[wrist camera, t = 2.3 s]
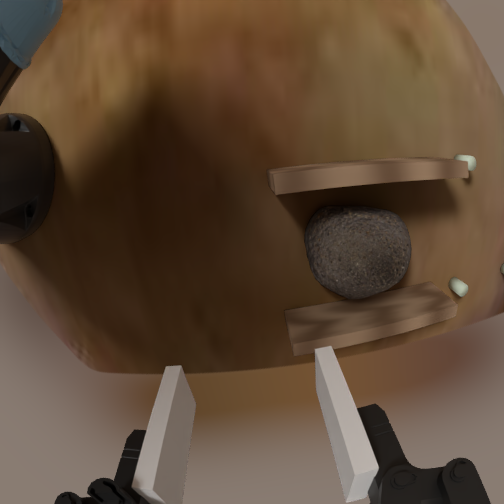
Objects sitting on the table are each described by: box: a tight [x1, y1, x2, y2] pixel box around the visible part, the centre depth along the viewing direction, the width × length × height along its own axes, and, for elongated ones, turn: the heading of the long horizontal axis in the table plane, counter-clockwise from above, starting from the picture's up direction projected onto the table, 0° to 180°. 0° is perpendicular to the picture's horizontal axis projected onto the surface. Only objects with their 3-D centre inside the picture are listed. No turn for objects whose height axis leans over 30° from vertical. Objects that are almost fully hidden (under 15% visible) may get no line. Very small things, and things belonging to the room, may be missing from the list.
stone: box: [305, 206, 411, 299], centre depth 27 cm, size 10×8×10 cm
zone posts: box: [449, 155, 504, 297], centre depth 27 cm, size 13×17×2 cm
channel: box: [267, 157, 468, 356], centre depth 26 cm, size 18×16×6 cm
